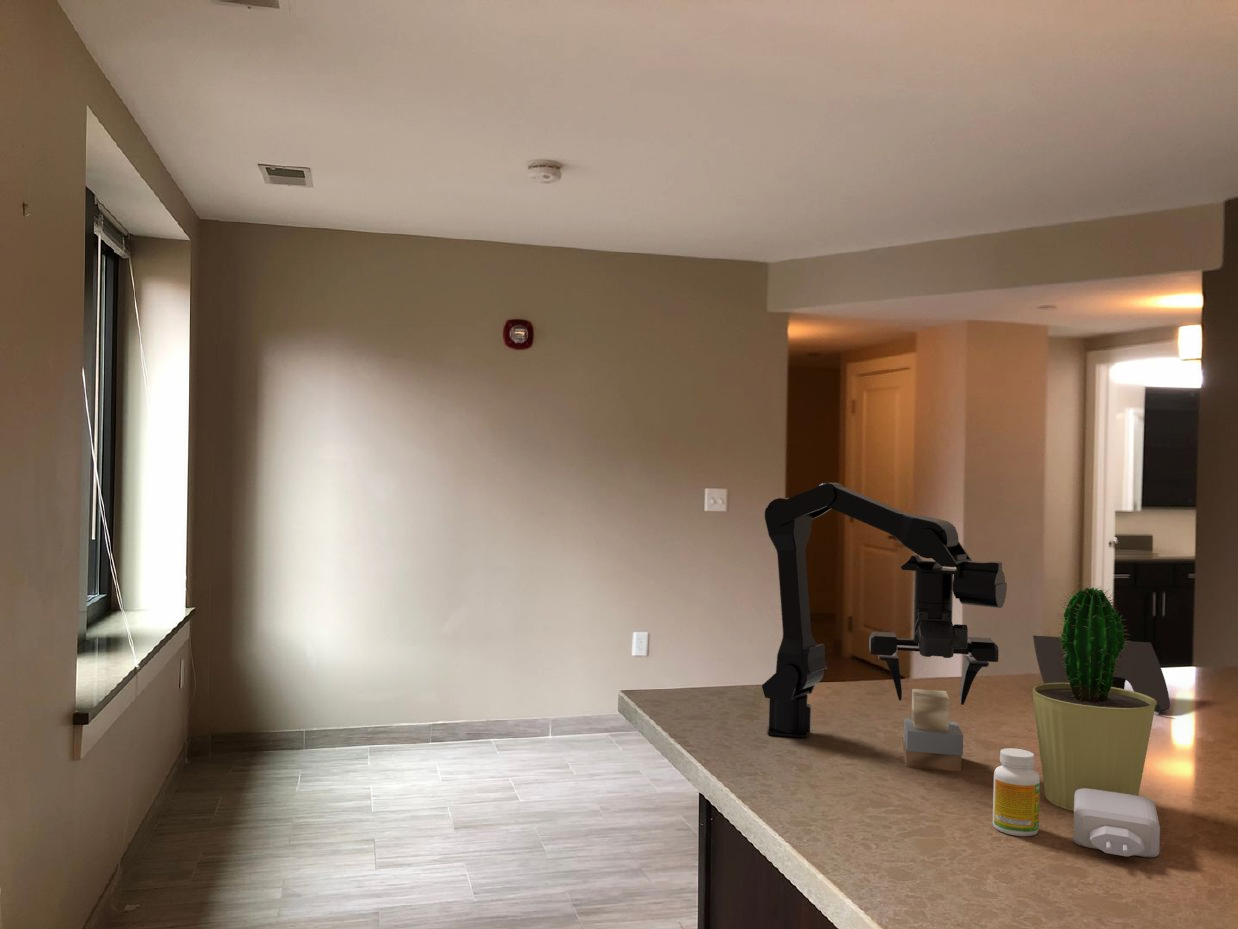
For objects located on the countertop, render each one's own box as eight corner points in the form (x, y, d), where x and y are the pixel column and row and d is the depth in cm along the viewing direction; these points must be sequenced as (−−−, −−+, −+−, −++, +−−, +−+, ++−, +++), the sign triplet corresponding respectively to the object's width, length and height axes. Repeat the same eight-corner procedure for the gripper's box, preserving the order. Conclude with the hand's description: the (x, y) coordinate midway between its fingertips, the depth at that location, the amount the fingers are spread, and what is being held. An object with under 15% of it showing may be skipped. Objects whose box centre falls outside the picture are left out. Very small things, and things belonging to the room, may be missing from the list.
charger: (1072, 864, 116) (1073, 823, 130) (1162, 880, 113) (1154, 835, 126) (1073, 823, 116) (1074, 786, 130) (1163, 837, 113) (1155, 798, 126)
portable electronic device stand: (1043, 734, 196) (1047, 697, 192) (1029, 662, 216) (1033, 626, 212) (1173, 745, 191) (1180, 707, 187) (1146, 670, 211) (1152, 634, 207)
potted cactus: (1148, 831, 127) (1155, 594, 127) (1019, 806, 135) (1025, 583, 135) (1158, 798, 140) (1163, 583, 140) (1039, 777, 148) (1045, 574, 148)
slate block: (907, 751, 152) (907, 731, 152) (903, 737, 160) (904, 718, 160) (962, 755, 150) (963, 735, 150) (956, 741, 158) (956, 722, 158)
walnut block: (905, 770, 152) (906, 750, 152) (902, 755, 160) (902, 736, 160) (961, 774, 150) (961, 754, 150) (954, 759, 158) (955, 740, 158)
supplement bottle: (1042, 839, 123) (1044, 760, 123) (996, 835, 124) (998, 756, 124) (1033, 824, 129) (1035, 748, 129) (989, 820, 130) (991, 745, 130)
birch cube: (914, 728, 153) (915, 696, 153) (911, 720, 158) (912, 688, 158) (948, 731, 152) (949, 698, 152) (944, 723, 157) (945, 691, 157)
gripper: (873, 605, 150) (870, 710, 150) (1005, 611, 146) (1003, 719, 146) (870, 595, 160) (868, 693, 160) (993, 602, 157) (991, 702, 157)
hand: (930, 702), depth 155 cm, fingers open, 9 cm apart
